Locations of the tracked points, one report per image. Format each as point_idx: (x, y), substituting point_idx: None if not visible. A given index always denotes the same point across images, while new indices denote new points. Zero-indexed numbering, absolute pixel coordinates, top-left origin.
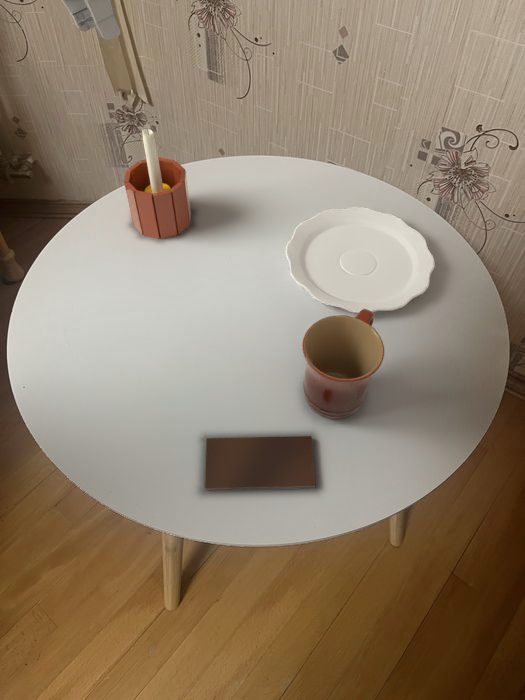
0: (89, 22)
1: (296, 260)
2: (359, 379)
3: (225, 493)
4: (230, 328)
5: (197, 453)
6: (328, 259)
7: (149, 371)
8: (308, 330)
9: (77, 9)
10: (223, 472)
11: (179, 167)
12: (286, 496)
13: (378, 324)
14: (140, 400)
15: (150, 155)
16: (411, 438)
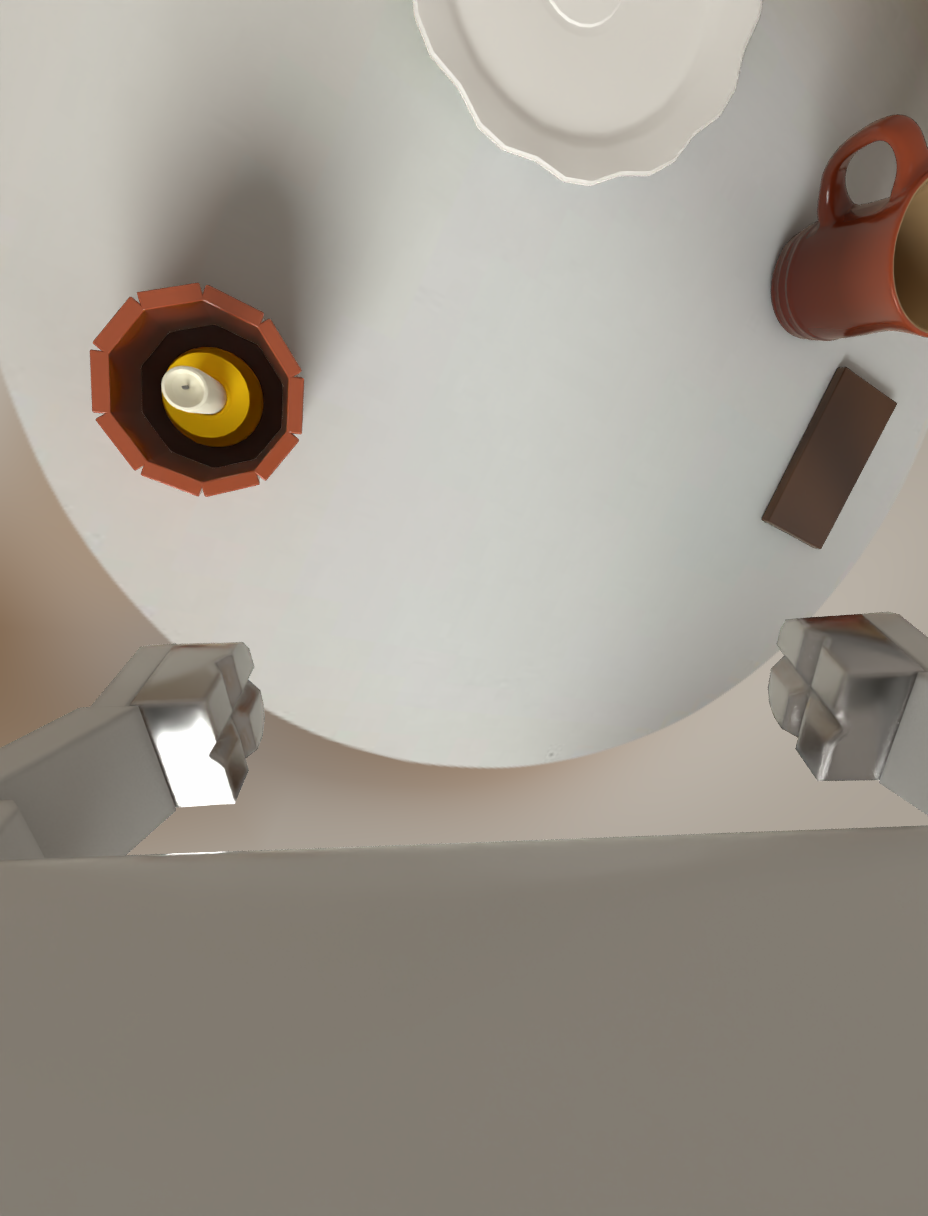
0: (240, 686)
1: (527, 134)
2: None
3: None
4: (603, 389)
5: (767, 539)
6: (542, 41)
7: (616, 565)
8: (896, 294)
9: (143, 777)
10: (818, 517)
11: (182, 297)
12: None
13: (739, 76)
14: (656, 593)
15: (215, 400)
16: None
